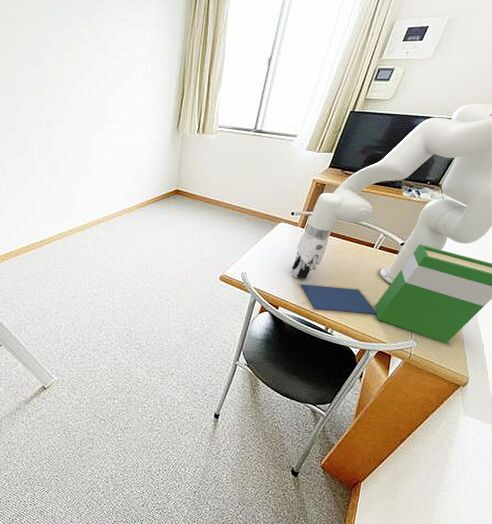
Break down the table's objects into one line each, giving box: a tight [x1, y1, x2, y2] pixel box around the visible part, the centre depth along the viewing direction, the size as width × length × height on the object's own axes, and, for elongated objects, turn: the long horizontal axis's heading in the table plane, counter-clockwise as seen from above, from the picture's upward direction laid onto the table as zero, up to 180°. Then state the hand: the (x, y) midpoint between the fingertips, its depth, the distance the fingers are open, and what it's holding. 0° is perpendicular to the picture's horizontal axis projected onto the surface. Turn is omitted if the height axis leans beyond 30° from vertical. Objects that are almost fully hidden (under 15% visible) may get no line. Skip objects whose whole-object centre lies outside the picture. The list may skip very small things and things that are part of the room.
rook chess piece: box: [291, 258, 309, 280], centre depth 110 cm, size 4×4×8 cm
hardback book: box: [374, 245, 492, 344], centre depth 87 cm, size 18×7×24 cm, turn 61°
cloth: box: [300, 284, 377, 315], centre depth 102 cm, size 20×12×1 cm, turn 86°
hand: (299, 273), depth 112 cm, fingers closed on rook chess piece, 4 cm apart
